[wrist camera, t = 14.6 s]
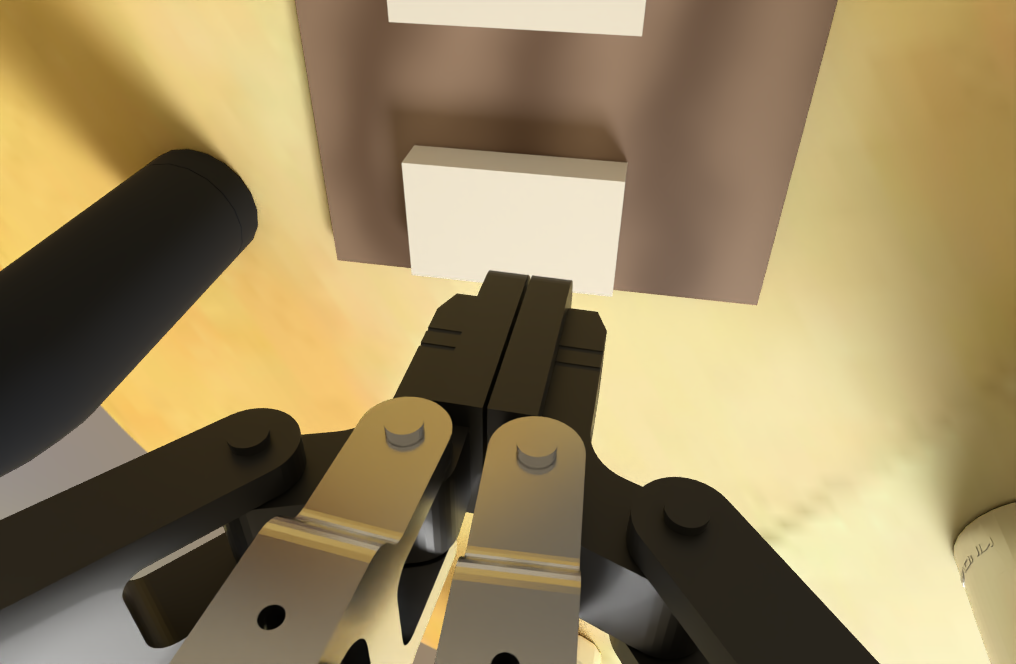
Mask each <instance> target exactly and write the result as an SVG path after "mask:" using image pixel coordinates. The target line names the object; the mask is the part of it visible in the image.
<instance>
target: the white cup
mask: <svg viewBox="0 0 1016 664" xmlns="http://www.w3.org/2000/svg"><path fill="white" fill-rule="evenodd" d="M577 664H601V654H600V652H599V651H598V649H597V648H596V646H595V645H594V644H593V643H591V642H590V641H588V640H587V639H585V638H584V637H582V636H580V635H578V646H577Z"/></svg>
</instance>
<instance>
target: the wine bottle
mask: <svg viewBox="0 0 1016 664" xmlns="http://www.w3.org/2000/svg"><path fill="white" fill-rule="evenodd" d="M257 227H258V220H257V209H256V206H255V203H254V201H253V198H252V195H251V193H250V192H249V190H248V189H247V187H246V186H245V184H244V183H243V181H242V180H241V179H240V177H239V176H238V175H236V174H235V173H234V172H233V171H232V170H231V169H230V168H229V167H228V166H227V165H225V164H224V163H222V162H220V161H219V160H217V159H215V158H213V157H211V156H210V155H208V154H205V153H201V152H197V151H193V150H190V149H185V150H171V151H169V152H167V153H165V154H163V155H161V156H159V157H157V158H156V159H155V160H153V161H152V162H150V163H149V164H148V165H146V166H145V167H143V168H142V169H141V170H139V171H138V172H137V173H135V174H134V175H132V176H131V177H130V178H128V179H127V180H126V181H124V182H123V183H121V184H120V185H119V186H117V187H116V188H115V189H113V190H112V191H110V192H109V193H108V194H106V195H105V196H104V197H102V198H101V199H99V200H98V201H97V202H95V203H94V204H93V205H91V206H90V207H88V208H87V209H86V210H84V211H83V212H82V213H80V214H79V215H77V216H76V217H75V218H73V219H72V220H70V221H69V222H68V223H66V224H65V225H64V226H62V227H61V228H59V229H58V230H57V231H55V232H54V233H53V234H51V235H50V236H48V237H47V238H46V239H44V240H43V241H42V242H40V243H39V244H37V245H36V246H35V247H33V248H32V249H31V250H29V251H28V252H26V253H25V254H24V255H22V256H21V257H20V258H18V259H17V260H15V261H14V262H13V263H11V264H10V265H9V266H7V267H6V268H4V269H3V270H2V271H0V477H2V476H3V475H5V474H7V473H9V472H11V471H13V470H15V469H16V468H18V467H20V466H22V465H24V464H26V463H27V462H29V461H31V460H32V459H34V458H35V457H37V456H38V455H39V454H41V453H42V452H44V451H45V450H47V449H48V448H50V447H51V446H52V445H54V444H55V443H57V442H58V441H60V440H61V439H62V438H63V437H65V436H66V435H67V434H69V433H70V432H71V431H73V430H74V429H75V428H76V427H78V426H79V425H80V424H82V423H83V422H84V421H85V420H86V419H87V418H88V417H89V416H90V415H91V414H92V413H93V412H94V411H95V410H96V409H97V408H98V407H99V406H100V405H101V404H102V402H103V401H104V400H105V399H106V398H107V397H108V396H109V395H110V394H111V393H112V392H113V391H114V389H115V388H116V387H117V386H118V385H119V384H120V383H121V382H122V381H123V380H124V379H125V378H126V376H127V375H128V374H129V373H130V372H131V371H132V370H133V369H134V368H135V367H136V366H137V365H138V363H139V362H140V361H141V360H142V359H143V358H144V357H145V356H146V355H147V354H148V353H149V352H150V350H151V349H152V348H153V347H154V346H155V345H156V344H157V343H158V342H159V341H160V340H161V339H162V337H163V336H164V335H165V334H166V333H167V332H168V331H169V330H170V329H171V328H172V327H173V326H174V324H175V323H176V322H177V321H178V320H179V319H180V318H181V317H182V316H183V315H184V314H185V313H186V311H187V310H188V309H189V308H190V307H191V306H192V305H193V304H194V303H195V302H196V301H197V300H198V298H199V297H200V296H201V295H202V294H203V293H204V292H205V291H206V290H207V289H208V288H209V287H210V285H211V284H212V283H213V282H214V281H215V280H216V279H217V278H218V277H219V276H220V275H221V274H222V272H223V271H224V270H225V269H226V268H227V267H228V266H229V265H230V264H231V263H232V262H233V261H234V259H235V258H236V257H237V256H238V255H239V254H240V253H241V252H242V251H243V250H244V249H245V248H246V247H247V245H248V244H249V243H250V242H251V241H252V240H253V238H254V235H255V232H256V230H257Z"/></svg>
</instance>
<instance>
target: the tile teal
mask: <svg viewBox="0 0 1016 664" xmlns="http://www.w3.org/2000/svg"><path fill="white" fill-rule="evenodd" d="M627 165H628V163H626V162H614V161H602V160H589V159H577V158H565V157H553V156H541V155H528V154H516V153H504V152H492V151H479V150H467V149H455V148H443V147H431V146H418V145H414V146H413V148H412V149H411V150H410V152H409V153H408V155H407V156H406V157H405V159H404V160H403V162H402V173H403V184H404V195H405V206H406V217H407V227H408V238H409V249H410V260H411V271H412V275H417V276H427V277H436V278H445V279H454V280H463V281H472V282H482V283H483V282H484V279H485V277H486V275H487V273H488V271H489V270H493V271H501V272H509V273H517V274H525V275H530V279H531V276H532V275H534V276H542V277H550V278H558V279H566V280H572V281H573V290H572V292H574V293H583V294H592V295H601V296H610V297H612V295H613V287H614V279H615V271H616V262H617V253H618V244H619V235H620V227H621V218H622V209H623V200H624V191H625V183H626V174H627Z"/></svg>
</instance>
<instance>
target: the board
mask: <svg viewBox="0 0 1016 664" xmlns="http://www.w3.org/2000/svg"><path fill="white" fill-rule="evenodd" d="M837 1H838V0H646V8H645V17H644V25H643V32H642V36H626V35H608V34H590V33H573V32H555V31H538V30H520V29H502V28H485V27H467V26H449V25H432V24H414V23H397V22H389V18H388V7H387V0H295V3H296V9H297V15H298V21H299V27H300V33H301V40H302V46H303V52H304V58H305V64H306V70H307V76H308V82H309V88H310V94H311V101H312V107H313V113H314V119H315V125H316V131H317V137H318V143H319V149H320V155H321V161H322V168H323V174H324V180H325V186H326V192H327V198H328V204H329V210H330V216H331V222H332V229H333V235H334V241H335V247H336V253H337V259H338V260H341V261H350V262H360V263H369V264H378V265H387V266H397V267H406V268H411V260H410V249H409V238H408V227H407V217H406V206H405V195H404V184H403V173H402V162H403V160H404V159H405V157H406V156H407V155H408V153H409V152H410V150H411V149H412V148H413V146H414V145H418V146H431V147H443V148H455V149H467V150H479V151H492V152H504V153H516V154H528V155H541V156H553V157H565V158H577V159H589V160H602V161H614V162H626V163H628V165H627V174H626V183H625V191H624V200H623V209H622V218H621V227H620V235H619V244H618V253H617V262H616V271H615V279H614V287H613V290H620V291H630V292H639V293H648V294H657V295H667V296H676V297H685V298H695V299H704V300H713V301H723V302H732V303H741V304H751V305H757V303H758V299H759V295H760V292H761V288H762V284H763V280H764V277H765V273H766V269H767V265H768V261H769V258H770V254H771V250H772V246H773V243H774V239H775V235H776V231H777V227H778V224H779V220H780V216H781V212H782V209H783V205H784V201H785V197H786V194H787V190H788V186H789V182H790V178H791V175H792V171H793V167H794V163H795V160H796V156H797V152H798V148H799V144H800V141H801V137H802V133H803V129H804V126H805V122H806V118H807V114H808V110H809V107H810V103H811V99H812V95H813V92H814V88H815V84H816V80H817V77H818V73H819V69H820V65H821V61H822V58H823V54H824V50H825V46H826V43H827V39H828V35H829V31H830V27H831V24H832V20H833V16H834V12H835V9H836V5H837Z"/></svg>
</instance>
